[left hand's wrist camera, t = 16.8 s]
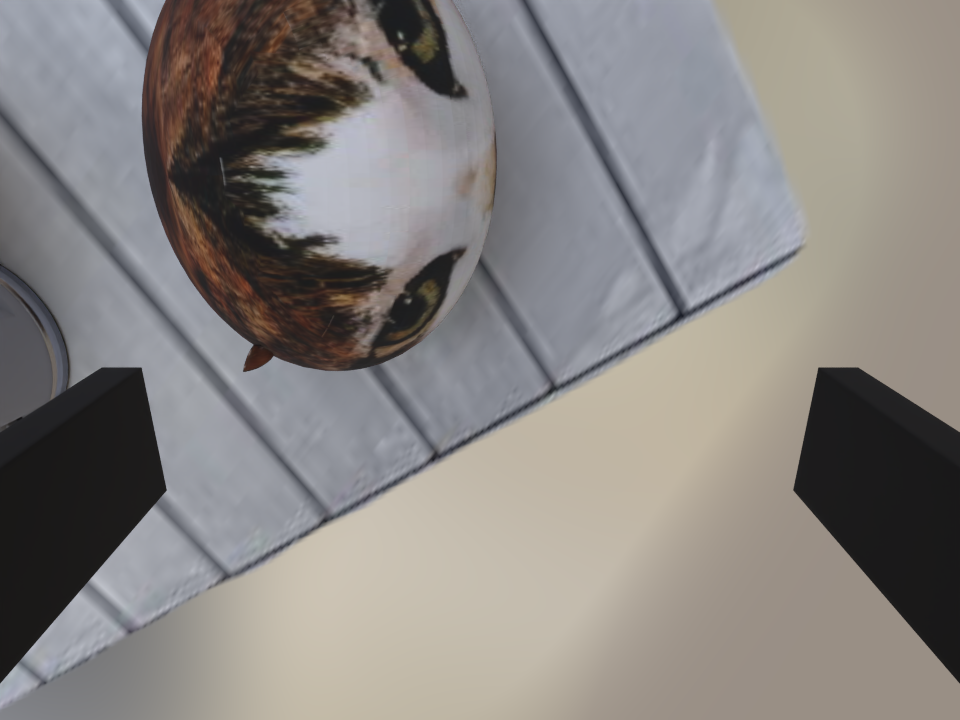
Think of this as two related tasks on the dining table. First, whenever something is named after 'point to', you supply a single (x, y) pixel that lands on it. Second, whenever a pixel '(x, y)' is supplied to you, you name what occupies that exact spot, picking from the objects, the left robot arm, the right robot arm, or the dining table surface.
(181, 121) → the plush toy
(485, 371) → the dining table surface
